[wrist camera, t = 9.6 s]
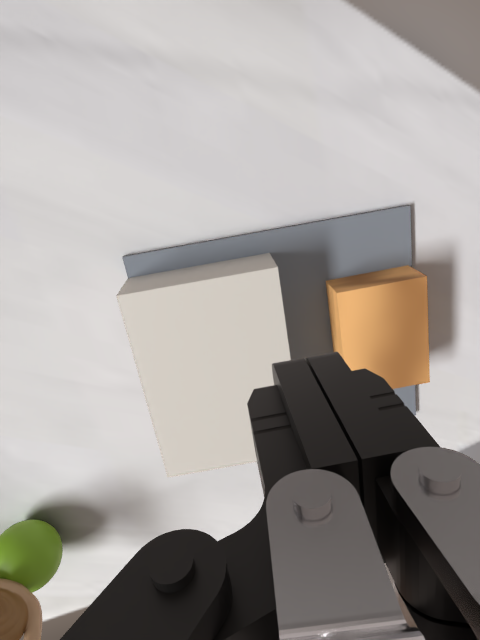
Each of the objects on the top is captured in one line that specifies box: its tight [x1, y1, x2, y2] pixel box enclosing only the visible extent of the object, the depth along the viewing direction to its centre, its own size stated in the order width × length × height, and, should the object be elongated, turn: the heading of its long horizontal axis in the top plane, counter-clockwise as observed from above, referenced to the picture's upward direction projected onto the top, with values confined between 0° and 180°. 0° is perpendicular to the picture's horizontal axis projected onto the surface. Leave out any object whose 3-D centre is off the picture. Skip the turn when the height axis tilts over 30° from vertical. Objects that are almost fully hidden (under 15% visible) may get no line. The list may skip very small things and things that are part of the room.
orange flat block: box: [326, 265, 430, 389], centre depth 32 cm, size 6×8×3 cm
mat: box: [123, 205, 416, 415], centre depth 33 cm, size 20×17×1 cm
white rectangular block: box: [117, 253, 291, 477], centre depth 32 cm, size 10×14×4 cm
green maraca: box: [0, 520, 62, 640], centre depth 33 cm, size 5×6×12 cm
